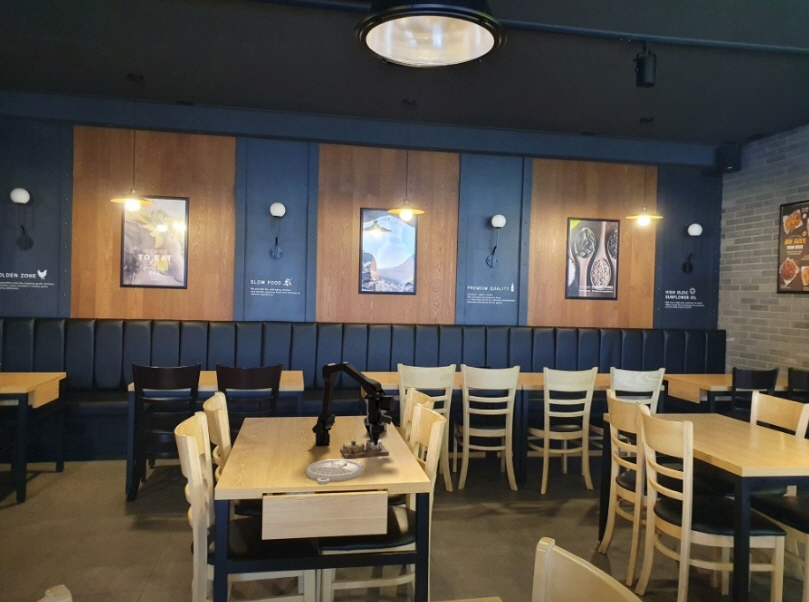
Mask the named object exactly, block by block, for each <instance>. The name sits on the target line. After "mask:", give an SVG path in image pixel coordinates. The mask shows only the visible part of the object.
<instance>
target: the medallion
mask: <svg viewBox="0 0 809 602" xmlns="http://www.w3.org/2000/svg"><path fill="white" fill-rule="evenodd" d="M305 472H306V474H305V475H306V476H307V475H308V477H309V478H311V479H314V480H317V483H318V484H321V485H323V484H328V483H330V482H337V481H339V482H340V481H346V480H352V479H355V478H358V477H359V476H361V475H362V474H364V464H362V462H359V461H358V460H354V459H350V458H331V459H327V458H326V459H323V460H319V461H318V460H317V461H315V462H313V463H310V464H309V465H307V467H306V470H305Z"/></svg>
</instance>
